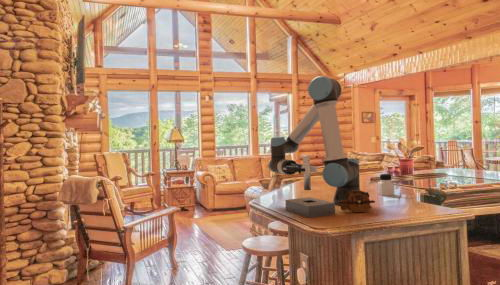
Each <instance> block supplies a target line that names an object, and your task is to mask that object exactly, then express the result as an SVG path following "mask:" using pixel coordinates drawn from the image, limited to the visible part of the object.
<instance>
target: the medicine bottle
mask: <svg viewBox="0 0 500 285" xmlns="http://www.w3.org/2000/svg"><path fill="white" fill-rule="evenodd" d="M377 194H378V195H380V196H382V197H385V196H387V197H388V196H392V197H393V196H395V183H394V182H393V181H392V175H391V174H390V173H381V174H380V175H379V181H378V182H377Z"/></svg>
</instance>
